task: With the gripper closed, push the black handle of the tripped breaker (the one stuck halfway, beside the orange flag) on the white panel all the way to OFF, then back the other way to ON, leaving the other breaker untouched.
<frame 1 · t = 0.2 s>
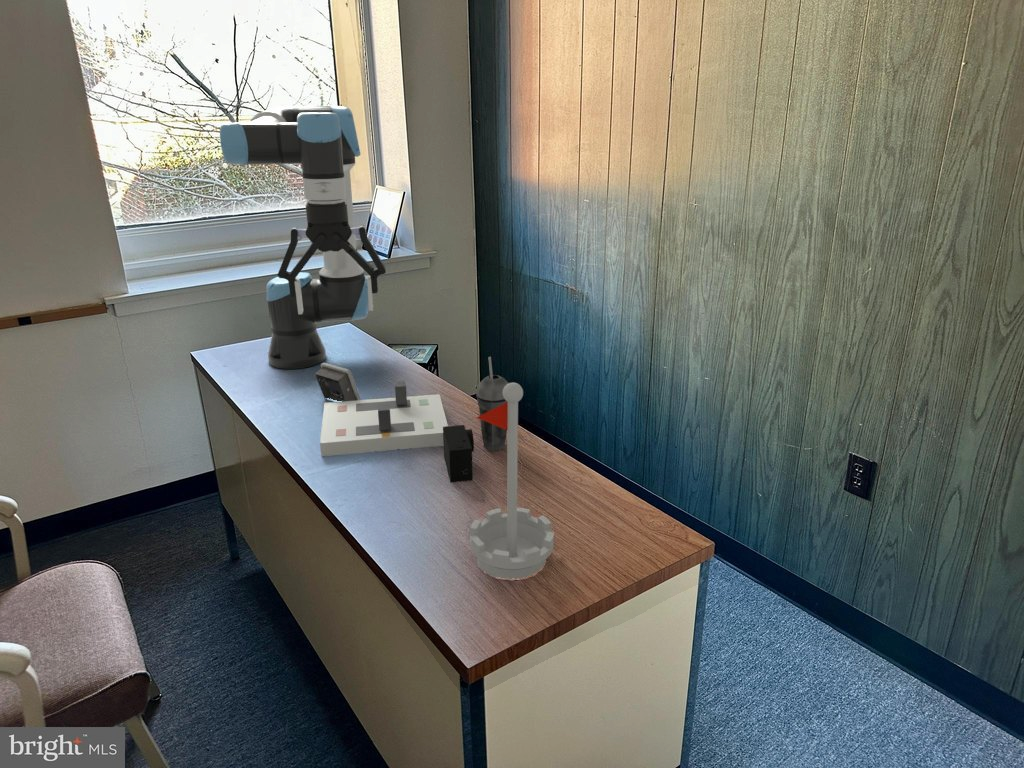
hand: (336, 310, 138), 28 cm above the table, tool pointing down, fingers open, 13 cm apart
digital camera: (461, 469, 136), on the table
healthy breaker: (400, 392, 155), point 6 cm above the table, slide at 8.0 cm
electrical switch: (340, 402, 165), on the table
tripped breaker: (384, 416, 144), point 6 cm above the table, slide at 4.0 cm
breaker panel: (385, 429, 151), on the table
beverage cup: (494, 446, 145), on the table
flag stand: (511, 559, 110), on the table
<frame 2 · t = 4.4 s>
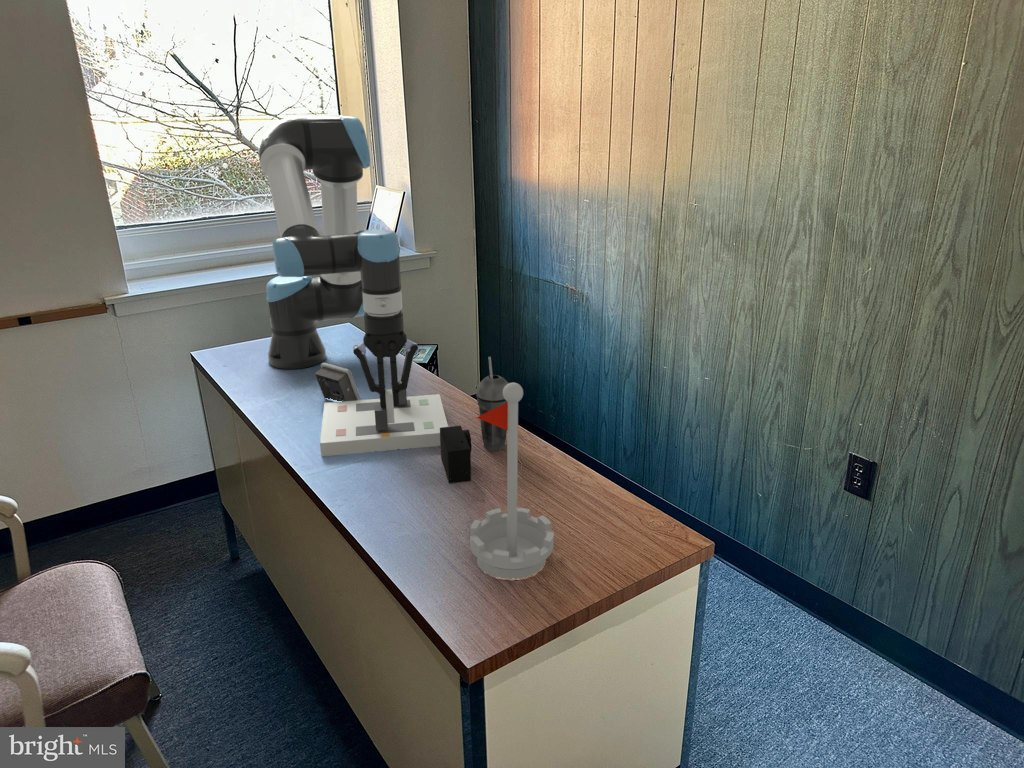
hand: (390, 420, 144), 5 cm above the table, tool pointing down, fingers closed
tripped breaker: (381, 417, 144), point 6 cm above the table, slide at 3.3 cm, touching gripper
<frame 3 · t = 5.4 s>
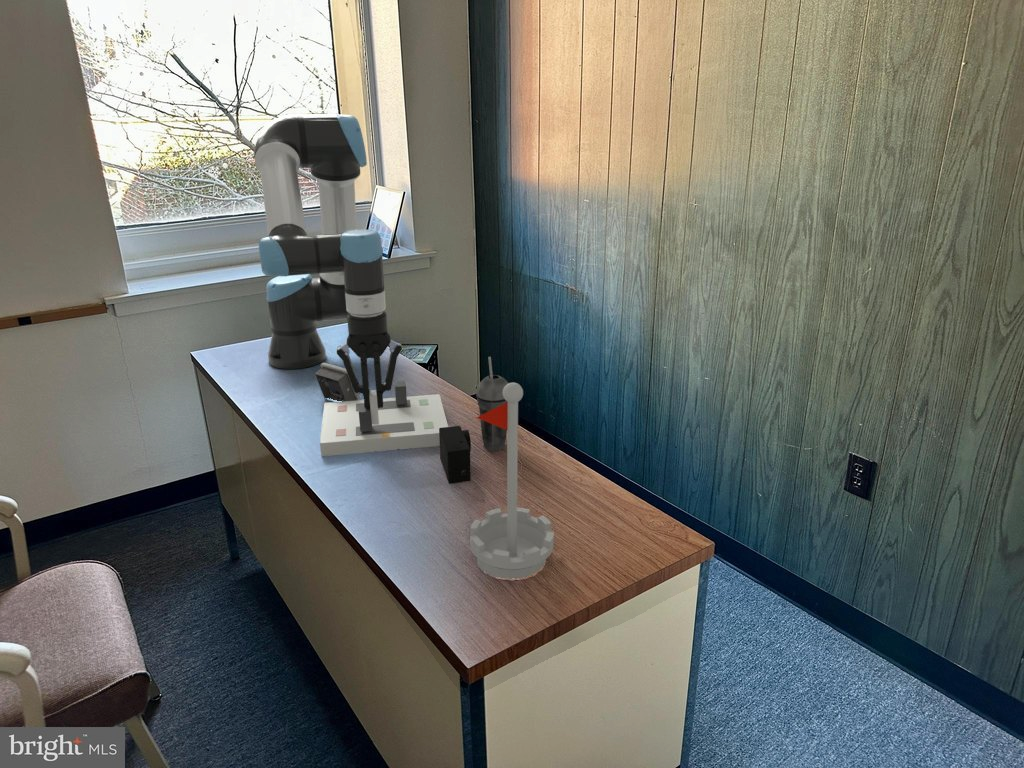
hand: (375, 421, 144), 5 cm above the table, tool pointing down, fingers closed
tripped breaker: (365, 418, 143), point 6 cm above the table, slide at 0.2 cm, touching gripper
everything else where it was.
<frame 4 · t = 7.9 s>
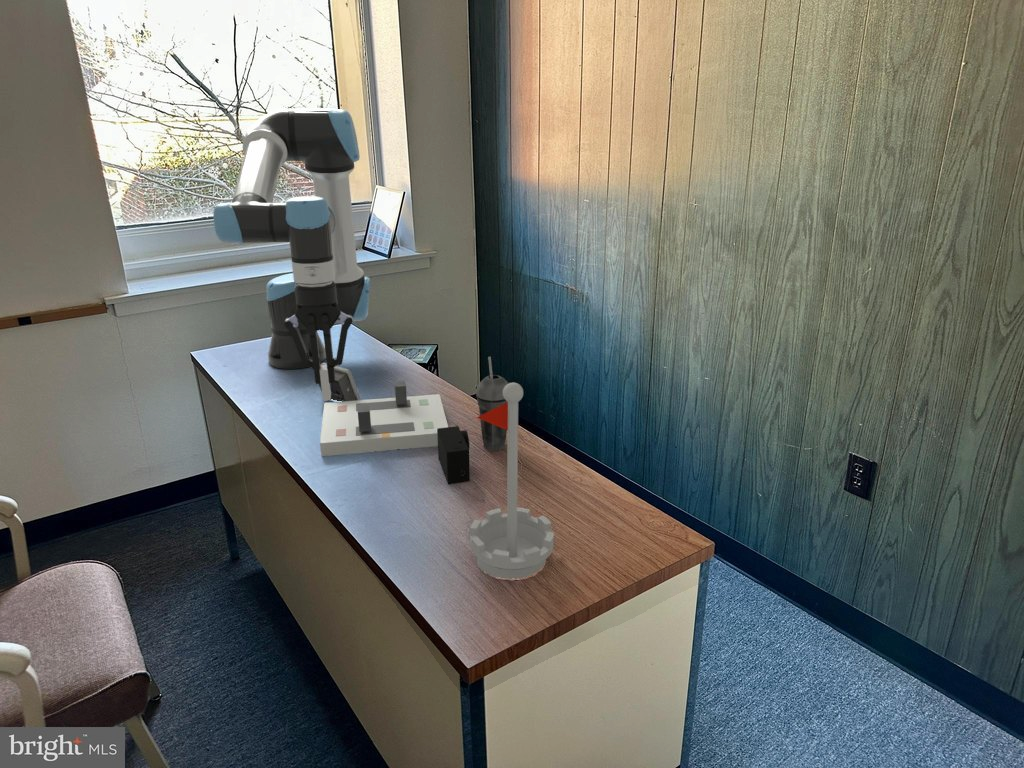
hand: (327, 397, 139), 11 cm above the table, tool pointing down, fingers closed
tripped breaker: (364, 418, 143), point 6 cm above the table, slide at 0.0 cm
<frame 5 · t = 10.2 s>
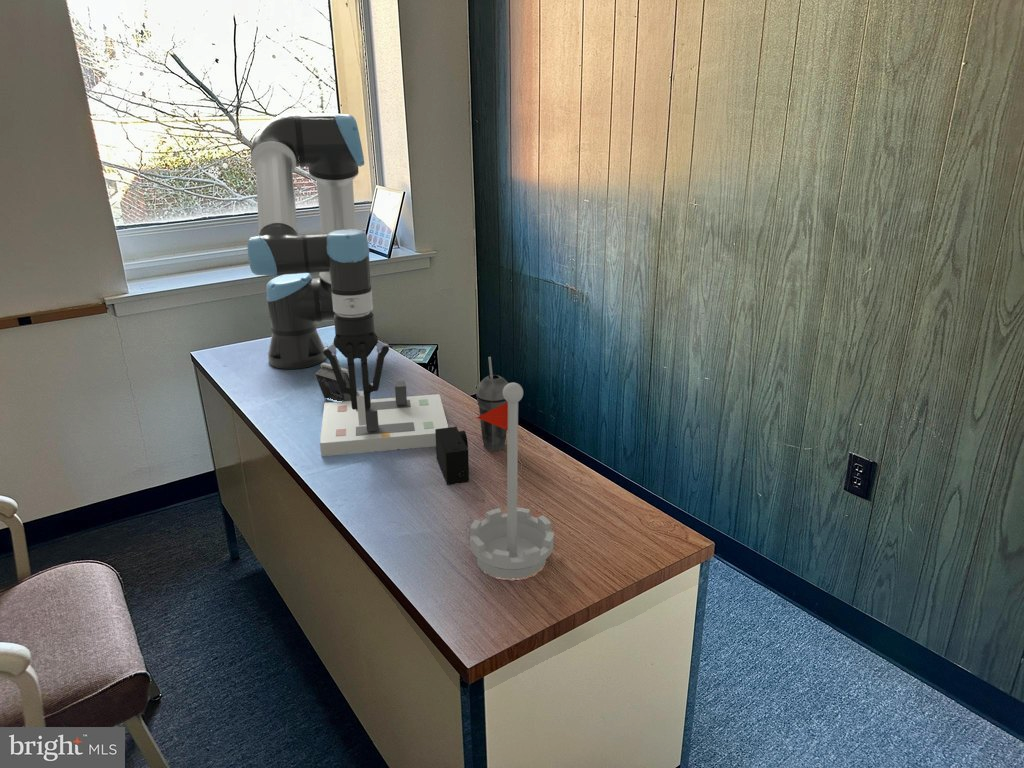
hand: (362, 422, 143), 5 cm above the table, tool pointing down, fingers closed
tripped breaker: (371, 417, 143), point 6 cm above the table, slide at 1.5 cm, touching gripper
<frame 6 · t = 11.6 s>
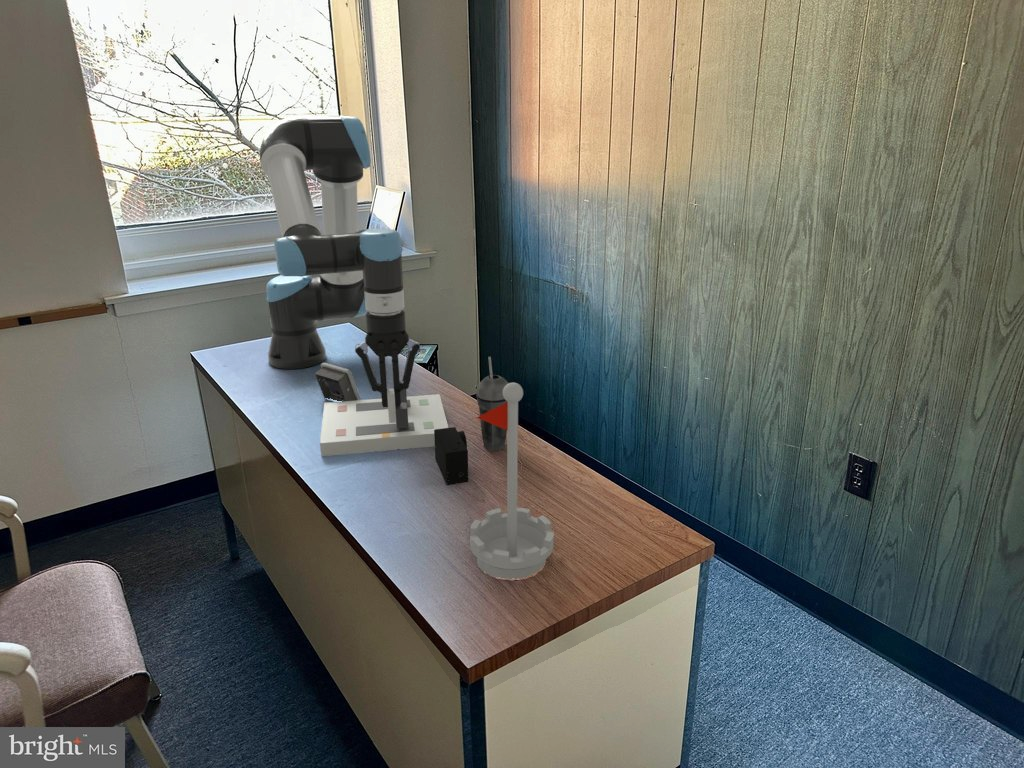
hand: (392, 419, 144), 5 cm above the table, tool pointing down, fingers closed
tripped breaker: (401, 415, 144), point 6 cm above the table, slide at 7.5 cm, touching gripper
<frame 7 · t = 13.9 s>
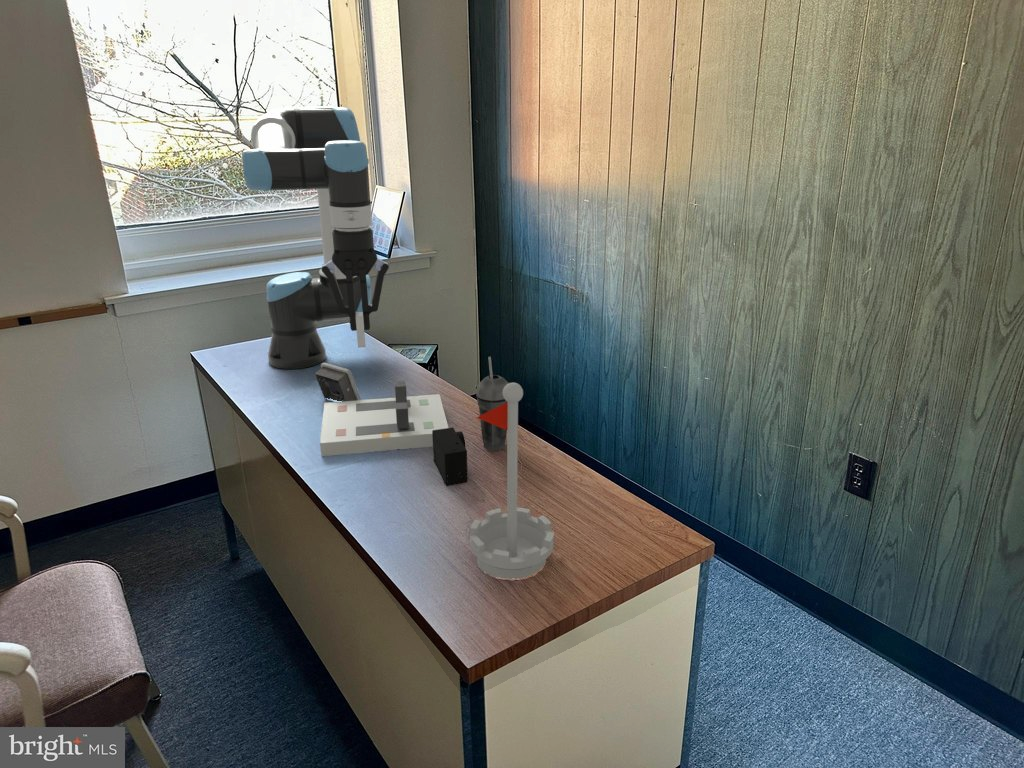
hand: (361, 344, 140), 21 cm above the table, tool pointing down, fingers closed
tripped breaker: (402, 415, 144), point 6 cm above the table, slide at 7.7 cm
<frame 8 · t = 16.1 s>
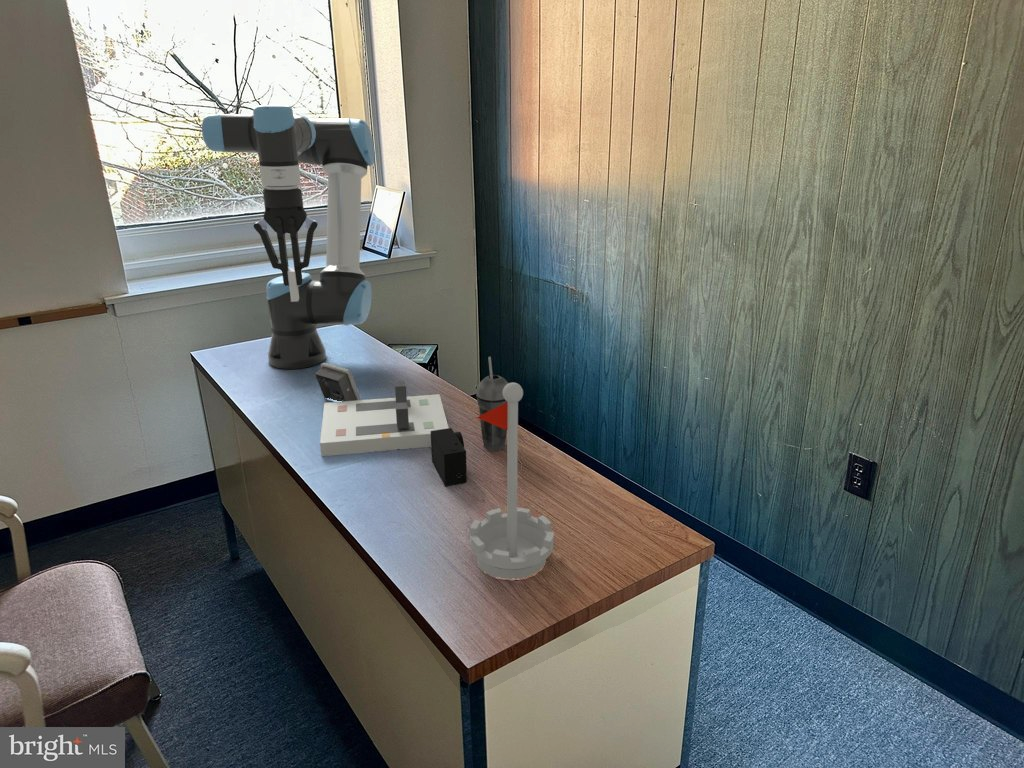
hand: (295, 299, 150), 26 cm above the table, tool pointing down, fingers closed
at the end: tripped breaker slide at 7.7 cm; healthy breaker slide at 8.0 cm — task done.
